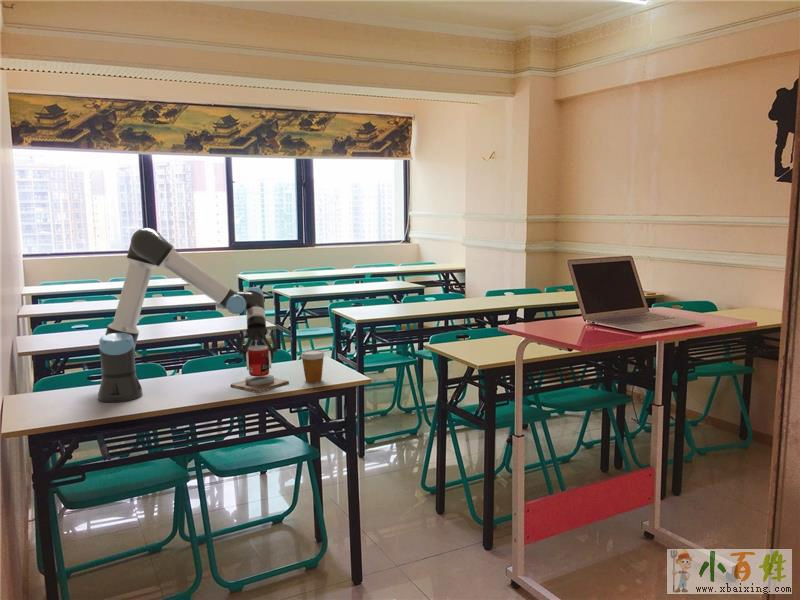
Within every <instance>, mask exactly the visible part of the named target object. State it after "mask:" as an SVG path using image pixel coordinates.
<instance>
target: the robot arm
mask: <svg viewBox="0 0 800 600" xmlns="http://www.w3.org/2000/svg"><path fill="white" fill-rule="evenodd" d="M175 249H176V248H175V246H174V245H173V244H171V242H169V241H167V240H166V239H165V238H164V237H163V236H162V235H161V234H160V232H159V231H157V230H156V229H154V228H150V227H143V228H139V229H137V230H136V231H135V232H134V233H132V236H131V238H130V244H129V248H128V251H127V255H126V259H127V261H128V263H129V265H128V267H127V271H126V275H125V279H124V281H123V285H122V289H121V293H120V297H119V301H118V303H117V307H116V311H115V314H114V318H113V322H111V323H109V324H108V325H107V328H106V331H105V335H102V336H101V337H100V339H99V340H98V341H99V342H98V349H99V357H100V367H101V368H100V369H101V371H100V372H101V381H100V384H99V389H98V393H97V396H98V397H97V398H98V401H99V402H103V403H119V402H127V401H131V400H134V399H138V398H140V397H141V396H143V387H142V386H141V383H140V381H139V378H138V377H137V374H136V373H137V371H136V369H137V368H136V360H135V359H136V357H135V356H136V355H135V350H136V344H137V341H138V337H139V335H140V334H139V333H140V331H139V329H138V328H137V326H138V322H139V319H140V314H141V312H142V308H143V304H144V300H145V297H146V294H147V290H148V288H149V287H148V286H149V282H150V279H151V276H152V272H153V270H154V268H157V267H158V268H160V267H162V268H164V269H166V270H167V271H169V272H171V273H172V274H174V275H175V276H177V277H178V278H180V279H181V280H182V281H184V282H185V283H186V284H188V285H190V286H191V287H193V288H194V289H196V290H197V291H199V292H200V293H202V294H203V295H205V296H206V297H208V298H209V299H211V300H212V301H214V302H215V306H216V308H218V309H222V310H227V311H228V312H229V313H231V314H232V315H233V314H234V315H239V314H243V312H244V311H246V314H245V315H246V331H243V330H240V331H239V337H240V338H239V344H238V349H237V350H238V355H240V356H241V355H242V356H243V362H244V363H246V370H247V371H249V360H248V347H250V346H252V343H253V342H254V341H262V343H263V344H264V345H265V346H268V351H269V369H272V361H274V354H275V353H278V349H279V348H278V345H277V341H276V338H275V329H273V328H272V329H271V330H270V329H268V328H267V323H266V322H267V321H266V310H265V295H264V291H263V290H262V288H260V287H258V286H252V287H248V288H247V289H246V290H245V291H237V290H236V291H235V290H233V289H232V288H231V287H229V286H227V285H226V284H224V283H223V282H221V281H220V280H218V279H217V278H216V277H214V276H213V275H211V274H210V273H209V272H207V271H205V270H204V269H203V268H201V267H200V266H199V265H197V264H195V263H194V262H192V261H191V260H190V259H188V258H186V257H185V256H184V255H182V254H181V253H180V252H178V251H177V250H175ZM266 335H268V336H269V337H270V341H271V344H272V345H271V344H270V342H269V340H268V338H267V337H266ZM246 336H248V339H247V341H246V344H245V346H244V341H245V337H246ZM243 347H244V349H243Z"/></svg>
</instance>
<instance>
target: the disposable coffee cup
mask: <svg viewBox="0 0 800 600" xmlns="http://www.w3.org/2000/svg"><path fill="white" fill-rule="evenodd" d="M300 357H301V360H302V366H303V367H302V368H303V372H304V378H305V382H306V383H309V384H317V383H321V382H322V377H323V367H324V358H325V352H324V351H323V350H321V349H320V350H319V349H308V350H304V351H302V352H301V355H300ZM320 381H321V382H320Z"/></svg>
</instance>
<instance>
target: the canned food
mask: <svg viewBox="0 0 800 600" xmlns="http://www.w3.org/2000/svg"><path fill="white" fill-rule="evenodd" d="M248 360H249V370H248V374H249V376H265V375H270V368H269V351H268V346H265V344H264V345H263V344H257V345H256V344H255V345H251V346H250V347H248Z"/></svg>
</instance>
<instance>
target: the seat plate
mask: <svg viewBox="0 0 800 600" xmlns="http://www.w3.org/2000/svg"><path fill="white" fill-rule="evenodd" d="M287 383H290V381H289V380H286V379H282V378H280V379H279V378H276V377H275V378H274V375H272V374H268V375H265V376H251V375H249V376H247V377H245V380H241V381H237V382H235V383H231V384H230V387H231V388H235V389H239V390H243V389H245V390H244V391H248V390H250V391H249V392H252V391H255V392H254V393H257V392H259V393H261V392H260V391H262V392H264V391H263V390H266V391H268V390H267V389H269V390H271V389H270V388H272V389H275V388H274V387H276V388H278V387H277V386H279V387H281V386H280V385H282V386H284V385H283V384H285V385H288V384H287Z"/></svg>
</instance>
